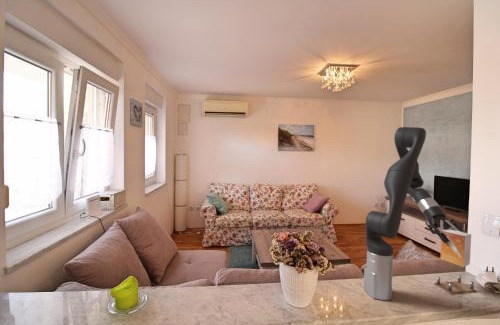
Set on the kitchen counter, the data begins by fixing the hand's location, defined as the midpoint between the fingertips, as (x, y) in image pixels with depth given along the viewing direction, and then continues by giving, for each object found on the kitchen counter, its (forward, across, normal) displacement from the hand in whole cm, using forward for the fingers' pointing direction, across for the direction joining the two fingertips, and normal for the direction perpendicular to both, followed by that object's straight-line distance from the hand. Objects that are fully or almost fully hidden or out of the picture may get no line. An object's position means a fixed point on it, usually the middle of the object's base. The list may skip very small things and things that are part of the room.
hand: (455, 242), depth 99 cm
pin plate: (+14, 0, +14) cm, 20 cm away
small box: (+6, 0, +6) cm, 9 cm away
